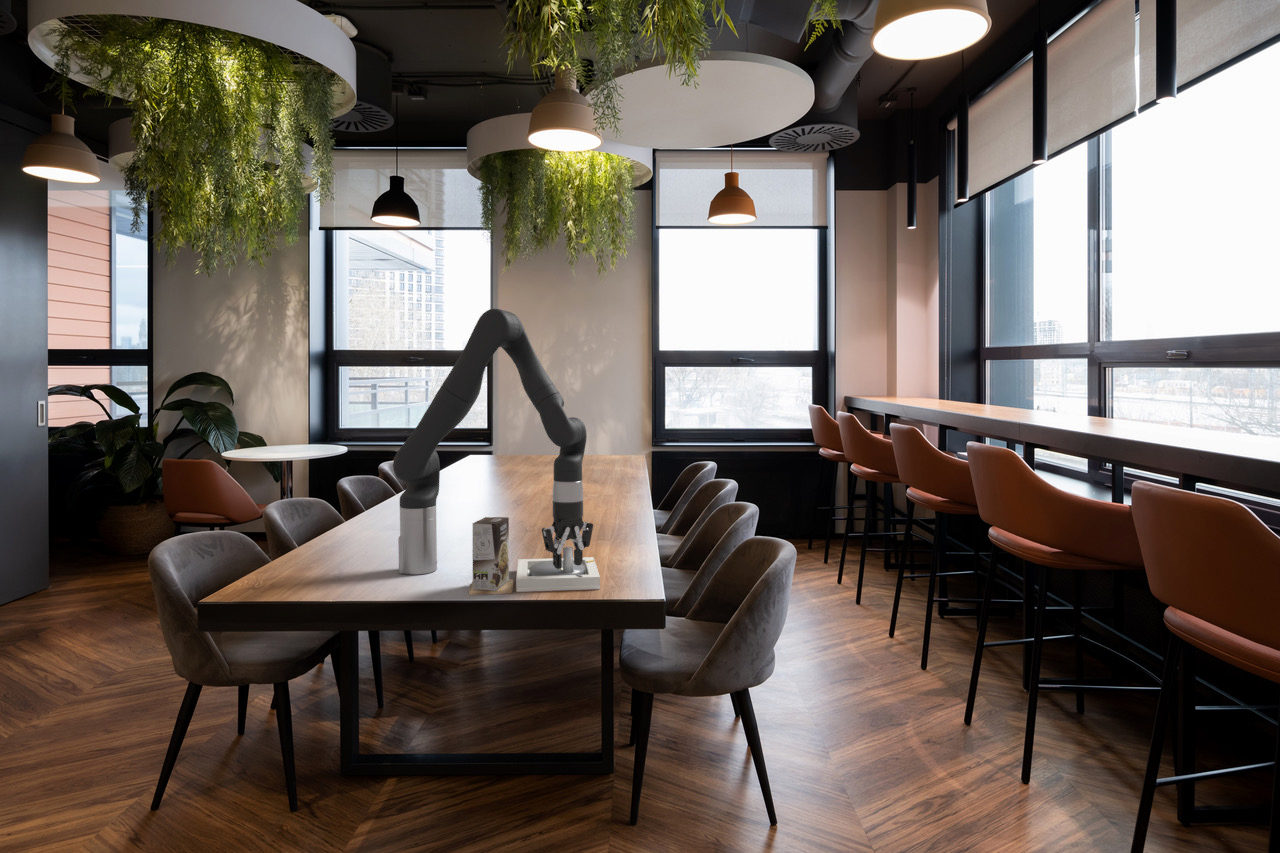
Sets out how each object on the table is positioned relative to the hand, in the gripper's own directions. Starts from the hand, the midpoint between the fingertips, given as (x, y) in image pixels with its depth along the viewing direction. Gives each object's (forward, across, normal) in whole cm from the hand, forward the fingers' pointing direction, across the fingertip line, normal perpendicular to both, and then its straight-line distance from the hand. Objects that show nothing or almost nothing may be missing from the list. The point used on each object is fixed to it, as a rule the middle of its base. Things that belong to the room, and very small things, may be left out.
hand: (568, 566), depth 183 cm
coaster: (+4, -17, +8) cm, 19 cm away
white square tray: (+4, 0, +5) cm, 7 cm away
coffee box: (+4, -17, +8) cm, 19 cm away
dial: (+3, 0, +5) cm, 6 cm away
